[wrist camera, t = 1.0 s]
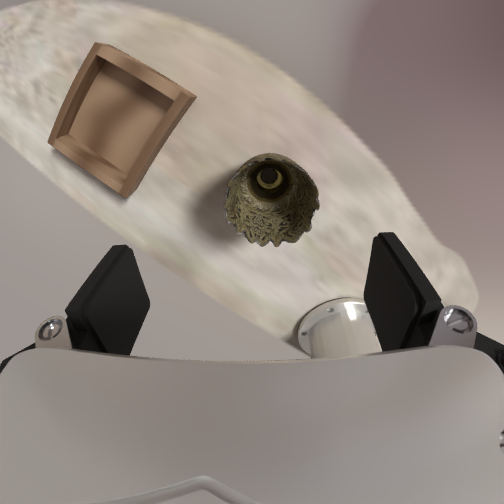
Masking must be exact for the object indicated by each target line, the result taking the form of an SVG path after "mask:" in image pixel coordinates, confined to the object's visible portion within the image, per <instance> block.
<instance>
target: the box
mask: <svg viewBox="0 0 504 504" xmlns="http://www.w3.org/2000/svg"><path fill="white" fill-rule="evenodd" d="M196 98H197V96H195V95H194V94H192V93H191V92H189V91H188V90H186V89H184V88H183V87H181V86H180V85H178V84H177V83H175V82H173V81H172V80H170V79H169V78H167V77H165V76H164V75H162V74H160V73H159V72H157V71H155V70H154V69H152V68H150V67H149V66H147V65H145V64H144V63H142V62H140V61H138V60H137V59H135V58H133V57H131V56H129V55H128V54H126V53H124V52H122V51H120V50H118V49H116V48H115V47H113V46H111V45H108V44H102V43H96V42H95V43H94V45H93V47H92V48H91V50H90V52H89V53H88V55H87V57H86V58H85V60H84V62H83V64H82V66H81V68H80V69H79V71H78V73H77V75H76V77H75V79H74V81H73V83H72V85H71V87H70V89H69V91H68V93H67V95H66V98H65V100H64V102H63V104H62V107H61V109H60V111H59V114H58V116H57V118H56V121H55V123H54V126H53V129H52V131H51V134H50V137H49V139H48V142H47V143H49V144H50V145H52V146H53V147H54V148H56V149H57V150H58V151H60V152H61V153H63V154H64V155H65V156H67V157H68V158H69V159H71V160H72V161H74V162H75V163H76V164H78V165H79V166H81V167H82V168H83V169H85V170H86V171H88V172H89V173H91V174H92V175H93V176H95V177H96V178H98V179H99V180H100V181H102V182H103V183H105V184H106V185H108V186H109V187H110V188H112V189H113V190H115V191H116V192H118V193H119V194H121V195H122V196H123V197H125V198H127V197H128V196H129V195H131V194H132V193H133V192H134V191H135V190H136V189H137V188H138V186H139V184H140V182H141V181H142V179H143V177H144V176H145V174H146V172H147V171H148V169H149V167H150V166H151V164H152V162H153V161H154V159H155V157H156V156H157V154H158V153H159V151H160V150H161V148H162V146H163V145H164V143H165V142H166V140H167V139H168V137H169V136H170V134H171V133H172V131H173V130H174V128H175V127H176V125H177V124H178V122H179V121H180V120H181V118H182V117H183V115H184V114H185V113H186V111H187V110H188V108H189V107H190V106H191V104H192V103H193V102H194V100H195V99H196Z"/></svg>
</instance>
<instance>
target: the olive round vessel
mask: <svg viewBox="0 0 504 504" xmlns="http://www.w3.org/2000/svg"><path fill="white" fill-rule="evenodd" d="M268 168H270V169H273V170H275V171H276V173H277V179H276V181H275V182H273V183H270V184H268V183H265V182H264V181H263V180H262V178H261V174H262V172H263V171H264V170H265V169H268ZM227 187H228V189H227V192H226V199H225V202H224V209H226V216H225V217H226V221H227V223H229V224H232V225H234V226H235V231H236V234H237V235H240V234H241V233H243V232H244V235H245V237H246V238H247V239H248V241H249V242H250V243H254V242H257V244H259V245H260V246H262V247H263V246H265V245H267V244H268V243H269V241H271V242H272V243H273V245H274V246H275V247H278V246H280V244H281V242H282V241H286V242H288V243H295V242H297V241H298V240H299V239H300V237H301V236H302V234H303V233H304V231H305V232H309V231H310V230H311V228H312V224H311V219H312V217H313V216H314V212H315V209H317V210H319V207H320V204H319V200H318V196H319V194H318V189H317V187H316V185H315V183H314V182H313V180H312V179H311V178H310V176H309V175H308V173H307V172H306V171H305V170H304V169H302V168H301V167H300V166H299V165H298V164H296V163H295V162H294V161H292V160H291V159H289V158H287V157H285V156H283V155H279V154H274V153H267V154H261V155H258V156H255V157H253V158H251V159H250V160H248V161H247V162H245V163H244V164H243V165H242V166H241V167H240V169H239V170H238V171H237V172H236V174H235V175H234V176H233V177H232V179H231V180H230V181H229V183H228V185H227Z"/></svg>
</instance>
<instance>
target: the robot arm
mask: <svg viewBox="0 0 504 504" xmlns="http://www.w3.org/2000/svg"><path fill="white" fill-rule="evenodd" d="M149 308H150V300H149V297H148V295H147V292H146V289H145V286H144V283H143V281H142V277H141V275H140V272H139V269H138V266H137V262H136V260H135V256H134V253H133V250H132V249H131V248H129V247H128V246H127V245H115V246H112V248H111V249H110V250H109V251H108V252H107V254H106V255H105V256H104V258H103V259H102V260H101V261H100V263H99V264H98V265H97V266H96V268H95V269H94V270H93V272H92V273H91V274H90V276H89V277H88V278H87V280H86V281H85V282H84V284H83V285H82V286H81V288H80V289H79V290H78V292H77V293H76V295H75V296H74V298H73V299H72V300H71V302H70V303H69V305H68V306H67V308H66V309H65V312H66V314H67V316H68V317H67V319H66V320H65V319H64V318H63V317H62V316H53V317H51V318H48V319H46V320H45V321H44V322H43V323H41V324H40V326H39V327H38V328H37V330H36V333H35V343H34V344H32V345H30V346H28V347H26V348H24V349H23V350H21V351H19V352H17V353H16V354H14V355H12V356H10V357H8V358H6V359H5V360H3V361H2V363H1V365H0V504H504V345H503V344H500V343H498V342H496V341H494V340H492V339H490V338H488V337H486V336H484V335H482V334H480V333H478V332H477V322H476V319H475V317H474V316H473V315H472V313H471V312H469V311H468V310H467V309H465V308H463V307H460V306H457V305H450V306H446V307H444V306H443V305H442V303H441V298H440V297H439V295H438V294H437V292H436V291H435V289H434V288H433V286H432V285H431V283H430V282H429V280H428V279H427V277H426V276H425V274H424V273H423V271H422V270H421V269H420V267H419V266H418V264H417V263H416V261H415V260H414V259H413V257H412V256H411V255H410V253H409V252H408V250H407V249H406V248H405V246H404V245H403V244H402V242H401V241H400V240H399V239H398V237H397V236H396V235H395V233H393V232H383V233H379V234H378V236H376V237H374V239H373V244H372V250H371V257H370V263H369V268H368V274H367V279H366V284H365V289H364V300H362V299H357V298H342V299H337V300H333V301H330V302H327V303H324V304H322V305H320V306H318V307H317V308H315V309H314V310H312V311H311V312H310V313H309V314H307V315H306V316H305V318H304V319H303V320H302V322H301V324H300V326H299V328H298V341H299V345H300V346H301V348H302V349H303V350H304V351H305V352H306V353H308V354H310V355H311V359H298V360H275V361H200V360H178V359H161V358H148V357H137V356H130V353H131V351H132V348H133V346H134V343H135V341H136V338H137V336H138V334H139V331H140V329H141V327H142V324H143V322H144V320H145V317H146V315H147V312H148V310H149ZM376 335H377V337H378V339H379V342H380V345H381V348H382V351H383V352H381V351H380V348H379V345H378V342H377V339H376Z"/></svg>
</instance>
